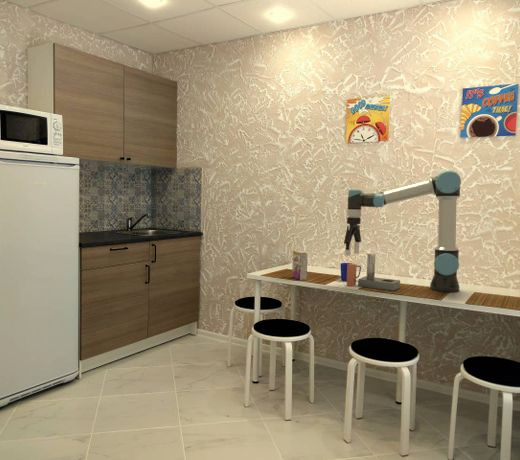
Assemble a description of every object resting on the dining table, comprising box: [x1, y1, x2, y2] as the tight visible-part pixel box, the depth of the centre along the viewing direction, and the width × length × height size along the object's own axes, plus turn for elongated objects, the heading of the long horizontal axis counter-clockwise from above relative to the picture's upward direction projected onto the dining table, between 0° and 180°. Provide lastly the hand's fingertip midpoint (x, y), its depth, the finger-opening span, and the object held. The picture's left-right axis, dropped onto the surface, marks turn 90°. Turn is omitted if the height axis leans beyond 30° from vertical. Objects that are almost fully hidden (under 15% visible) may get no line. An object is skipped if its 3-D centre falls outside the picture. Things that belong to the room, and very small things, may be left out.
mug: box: [339, 262, 362, 282], centre depth 275 cm, size 8×12×10 cm
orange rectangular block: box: [346, 263, 358, 287], centre depth 260 cm, size 4×4×12 cm
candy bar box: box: [291, 250, 309, 281], centre depth 277 cm, size 11×5×16 cm, turn 22°
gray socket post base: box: [357, 253, 401, 292], centre depth 258 cm, size 20×12×18 cm, turn 58°
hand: (352, 254), depth 259 cm, fingers open, 13 cm apart
